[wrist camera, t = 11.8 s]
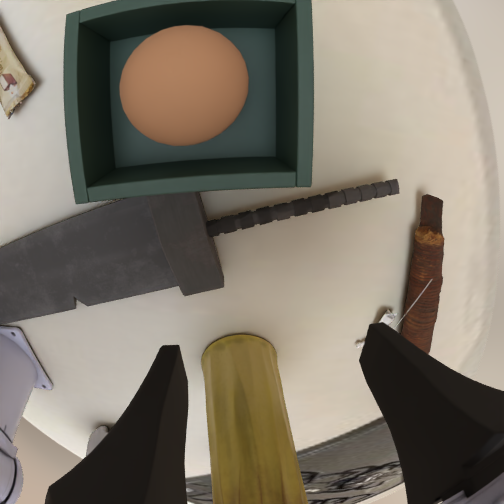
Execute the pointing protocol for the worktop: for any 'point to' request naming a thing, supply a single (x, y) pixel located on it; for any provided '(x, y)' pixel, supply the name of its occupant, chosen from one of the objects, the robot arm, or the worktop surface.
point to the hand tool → (425, 276)
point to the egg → (184, 85)
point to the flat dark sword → (135, 250)
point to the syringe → (387, 320)
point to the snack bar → (12, 78)
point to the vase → (249, 425)
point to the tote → (206, 153)
